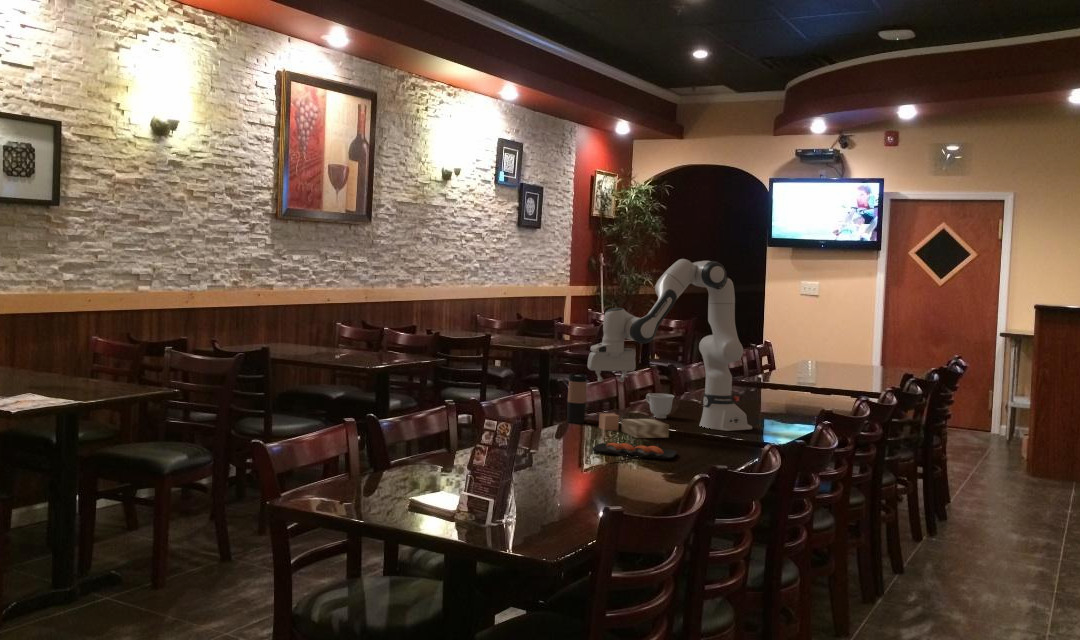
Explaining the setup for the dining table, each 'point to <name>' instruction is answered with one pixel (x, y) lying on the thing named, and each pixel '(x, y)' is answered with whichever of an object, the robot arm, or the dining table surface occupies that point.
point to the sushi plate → (634, 451)
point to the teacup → (660, 404)
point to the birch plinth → (645, 428)
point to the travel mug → (576, 398)
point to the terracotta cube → (608, 421)
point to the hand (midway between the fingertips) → (610, 381)
